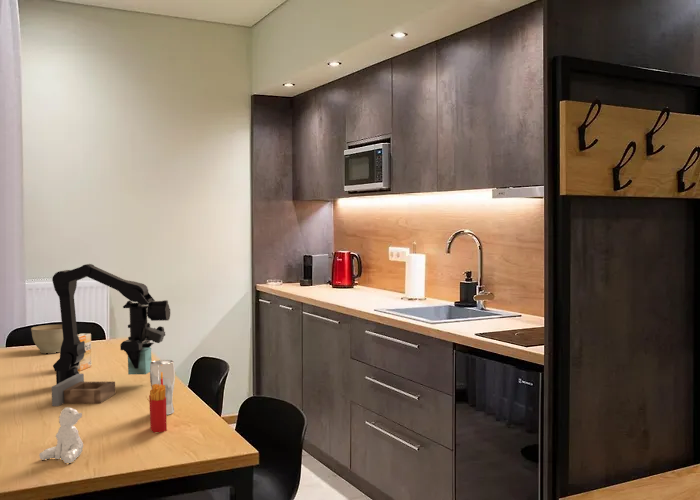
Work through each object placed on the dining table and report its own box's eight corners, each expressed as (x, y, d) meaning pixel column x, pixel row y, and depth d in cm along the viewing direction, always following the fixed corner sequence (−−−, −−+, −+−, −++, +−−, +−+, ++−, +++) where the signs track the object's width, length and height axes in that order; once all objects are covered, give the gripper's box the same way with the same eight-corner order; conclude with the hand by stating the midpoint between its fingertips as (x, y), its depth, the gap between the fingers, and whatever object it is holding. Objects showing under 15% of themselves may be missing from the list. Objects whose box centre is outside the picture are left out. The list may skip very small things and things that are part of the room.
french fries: (149, 426, 193) (147, 382, 193) (163, 424, 195) (162, 381, 194) (153, 434, 185) (152, 389, 185) (168, 432, 187) (167, 388, 186)
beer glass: (180, 410, 208) (178, 360, 208) (166, 417, 202) (165, 365, 201) (160, 408, 211) (158, 359, 210) (146, 415, 204) (144, 363, 203)
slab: (52, 406, 215) (51, 386, 215) (78, 391, 233) (77, 373, 233) (58, 406, 215) (57, 386, 215) (84, 391, 233) (83, 373, 233)
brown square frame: (64, 403, 218) (63, 390, 218) (80, 393, 230) (80, 381, 230) (100, 403, 218) (100, 390, 218) (115, 393, 229) (115, 381, 229)
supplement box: (80, 371, 265) (79, 336, 264) (68, 371, 266) (67, 336, 265) (92, 366, 273) (91, 333, 272) (81, 366, 274) (80, 332, 273)
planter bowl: (63, 355, 297) (62, 329, 296) (25, 355, 297) (24, 330, 296) (78, 348, 313) (77, 323, 312) (42, 348, 313) (41, 324, 312)
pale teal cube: (128, 374, 237) (127, 350, 237) (134, 370, 243) (134, 347, 243) (145, 374, 237) (145, 350, 236) (151, 370, 243) (151, 347, 242)
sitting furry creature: (37, 461, 167) (35, 410, 166) (64, 449, 175) (62, 401, 174) (69, 465, 163) (67, 414, 163) (94, 453, 171) (93, 404, 171)
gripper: (152, 325, 229) (153, 372, 230) (170, 316, 248) (171, 360, 249) (119, 325, 230) (120, 372, 231) (139, 317, 249) (140, 360, 249)
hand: (139, 366), depth 240 cm, fingers closed on pale teal cube, 6 cm apart
